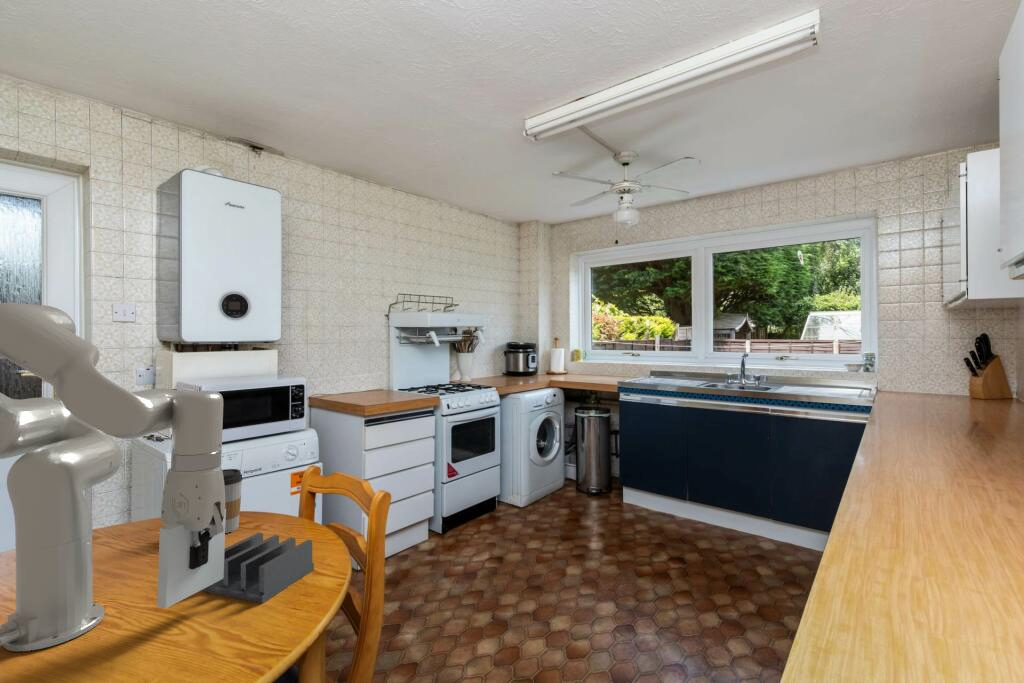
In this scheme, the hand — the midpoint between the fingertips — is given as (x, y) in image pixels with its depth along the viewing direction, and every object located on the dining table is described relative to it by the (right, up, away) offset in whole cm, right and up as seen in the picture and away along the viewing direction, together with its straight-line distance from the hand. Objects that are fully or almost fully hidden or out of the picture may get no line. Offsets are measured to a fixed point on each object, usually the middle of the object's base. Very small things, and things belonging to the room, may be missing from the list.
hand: (192, 564), depth 86 cm
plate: (0, -5, 0) cm, 5 cm away
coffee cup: (-18, -10, +40) cm, 45 cm away
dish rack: (+5, -10, +14) cm, 17 cm away
